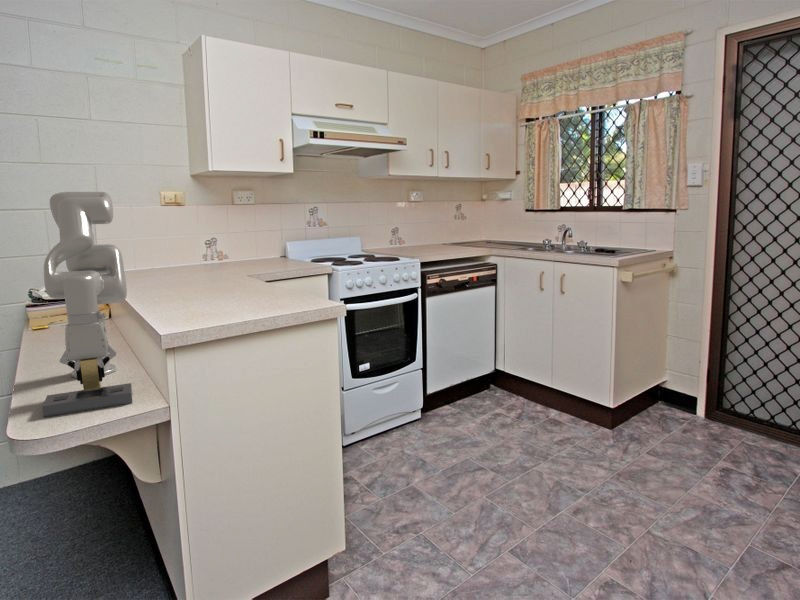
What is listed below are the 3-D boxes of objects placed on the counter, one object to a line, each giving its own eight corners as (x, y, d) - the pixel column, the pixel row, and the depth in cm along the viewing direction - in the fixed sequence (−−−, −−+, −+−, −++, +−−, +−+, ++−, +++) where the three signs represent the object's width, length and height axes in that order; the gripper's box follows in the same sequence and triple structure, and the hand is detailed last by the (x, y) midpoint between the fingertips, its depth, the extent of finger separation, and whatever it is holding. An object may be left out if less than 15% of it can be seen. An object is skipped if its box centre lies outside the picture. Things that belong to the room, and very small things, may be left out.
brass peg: (85, 390, 151) (81, 357, 149) (101, 388, 153) (97, 355, 151) (84, 395, 148) (79, 361, 146) (100, 392, 149) (96, 359, 147)
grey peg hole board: (48, 406, 141) (47, 395, 140) (132, 393, 149) (131, 382, 149) (43, 417, 133) (42, 406, 132) (132, 403, 141) (131, 392, 141)
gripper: (117, 313, 153) (124, 373, 157) (49, 319, 146) (58, 382, 149) (117, 318, 147) (124, 380, 150) (46, 325, 139) (55, 390, 143)
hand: (91, 380), depth 150 cm, fingers closed on brass peg, 4 cm apart
